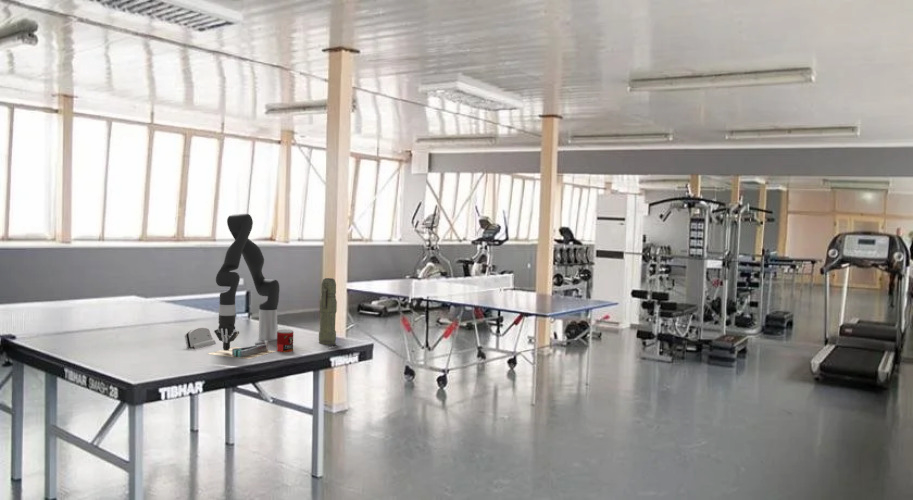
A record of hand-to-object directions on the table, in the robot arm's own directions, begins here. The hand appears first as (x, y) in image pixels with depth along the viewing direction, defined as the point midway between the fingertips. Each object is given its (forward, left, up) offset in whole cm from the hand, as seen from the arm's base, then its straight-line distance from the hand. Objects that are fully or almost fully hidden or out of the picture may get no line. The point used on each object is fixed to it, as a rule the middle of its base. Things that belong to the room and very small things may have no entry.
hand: (226, 350), depth 323 cm
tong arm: (-3, +11, -1) cm, 11 cm away
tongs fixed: (-4, +12, -1) cm, 13 cm away
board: (-4, +6, -2) cm, 8 cm away
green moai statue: (-48, +27, -3) cm, 55 cm away
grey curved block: (-14, -27, -3) cm, 31 cm away
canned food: (-19, +20, -3) cm, 27 cm away
